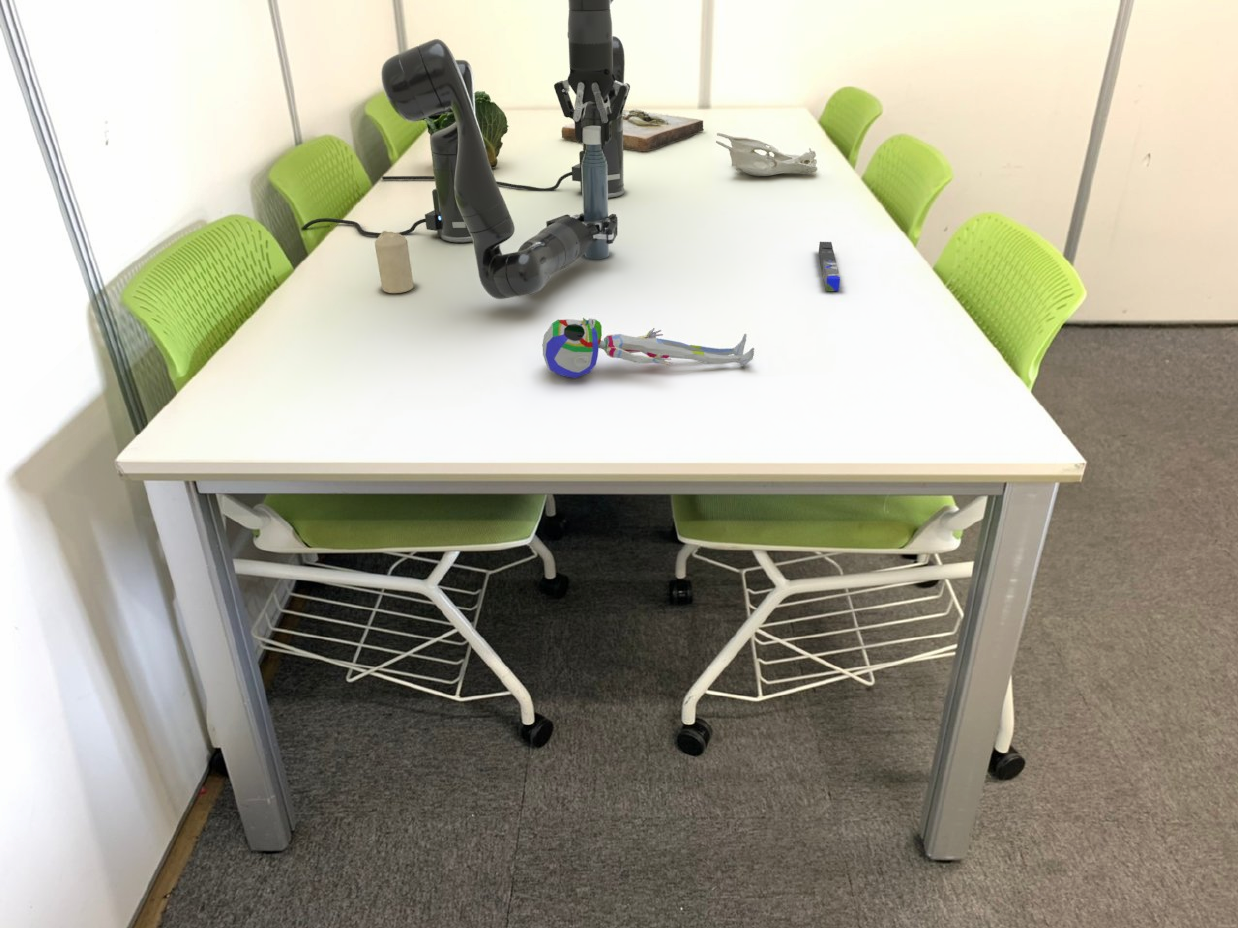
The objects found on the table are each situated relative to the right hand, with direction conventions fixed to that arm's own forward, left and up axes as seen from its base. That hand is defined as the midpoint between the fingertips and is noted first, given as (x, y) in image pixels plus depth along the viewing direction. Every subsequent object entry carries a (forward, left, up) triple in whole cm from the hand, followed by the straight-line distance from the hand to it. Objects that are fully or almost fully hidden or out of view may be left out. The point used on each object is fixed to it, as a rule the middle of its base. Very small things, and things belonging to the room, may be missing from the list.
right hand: (593, 142), depth 162 cm
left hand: (0, +3, -14) cm, 15 cm away
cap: (0, 0, +2) cm, 2 cm away
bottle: (0, 0, -21) cm, 21 cm away
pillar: (+43, +10, -21) cm, 49 cm away
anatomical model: (+9, +70, -21) cm, 74 cm away
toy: (+31, -40, -21) cm, 54 cm away
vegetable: (-61, +43, -21) cm, 78 cm away
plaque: (-40, +94, -21) cm, 104 cm away
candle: (-23, -31, -21) cm, 44 cm away
